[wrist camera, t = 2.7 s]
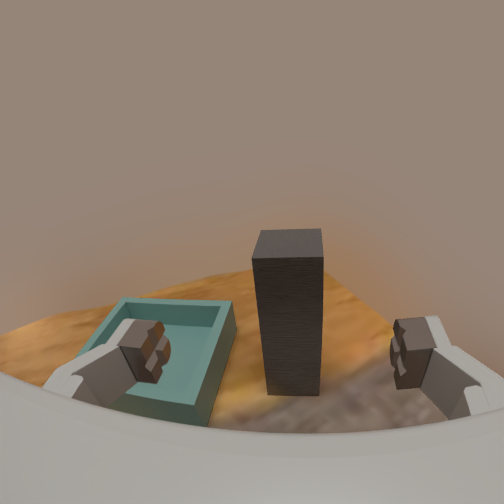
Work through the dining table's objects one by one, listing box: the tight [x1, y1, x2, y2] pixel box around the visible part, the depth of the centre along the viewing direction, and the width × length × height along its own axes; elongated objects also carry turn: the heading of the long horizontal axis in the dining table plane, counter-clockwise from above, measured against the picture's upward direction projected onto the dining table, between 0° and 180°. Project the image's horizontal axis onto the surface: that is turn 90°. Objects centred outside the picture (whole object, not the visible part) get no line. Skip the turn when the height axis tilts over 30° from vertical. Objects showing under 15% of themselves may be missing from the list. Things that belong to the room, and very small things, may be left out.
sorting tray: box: [75, 297, 237, 427], centre depth 30 cm, size 14×14×4 cm
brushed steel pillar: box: [252, 229, 324, 396], centre depth 25 cm, size 5×5×14 cm
